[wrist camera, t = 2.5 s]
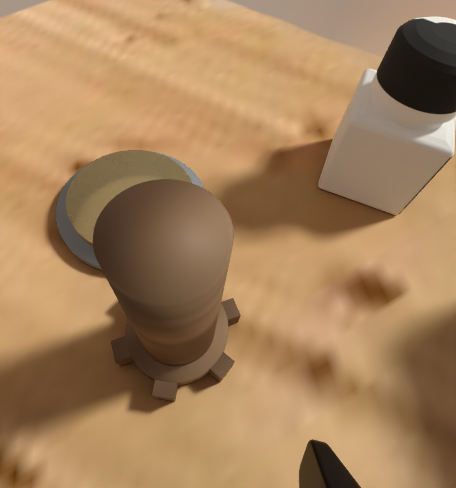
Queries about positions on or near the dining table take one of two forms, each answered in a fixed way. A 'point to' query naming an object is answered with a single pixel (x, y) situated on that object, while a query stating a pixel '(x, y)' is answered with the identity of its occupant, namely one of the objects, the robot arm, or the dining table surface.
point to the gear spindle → (169, 280)
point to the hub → (113, 184)
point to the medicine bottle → (398, 120)
